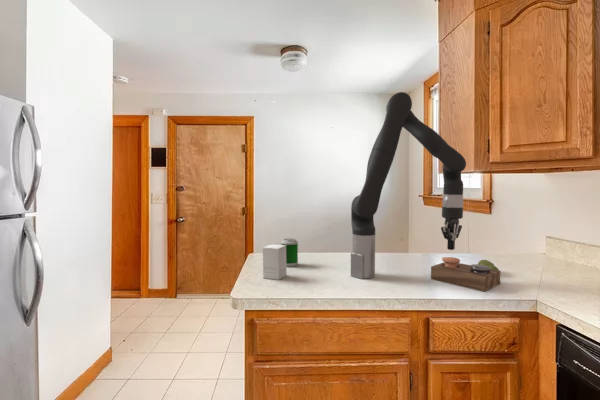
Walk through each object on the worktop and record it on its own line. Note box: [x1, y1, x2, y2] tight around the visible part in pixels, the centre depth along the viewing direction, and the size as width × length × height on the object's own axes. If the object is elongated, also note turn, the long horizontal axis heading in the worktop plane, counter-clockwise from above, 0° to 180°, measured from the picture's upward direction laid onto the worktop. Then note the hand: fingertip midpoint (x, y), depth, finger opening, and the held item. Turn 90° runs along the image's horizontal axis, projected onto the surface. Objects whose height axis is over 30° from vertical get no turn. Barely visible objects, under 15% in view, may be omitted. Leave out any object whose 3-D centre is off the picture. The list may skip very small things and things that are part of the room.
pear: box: [477, 259, 499, 270], centre depth 136 cm, size 6×5×10 cm
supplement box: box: [262, 243, 288, 281], centre depth 132 cm, size 7×7×13 cm
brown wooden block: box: [430, 261, 502, 293], centre depth 126 cm, size 14×20×5 cm
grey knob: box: [469, 263, 490, 274], centre depth 121 cm, size 6×6×6 cm
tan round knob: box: [441, 256, 461, 268], centre depth 130 cm, size 6×6×6 cm
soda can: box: [281, 238, 299, 268], centre depth 151 cm, size 8×8×12 cm
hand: (450, 249), depth 129 cm, fingers closed
